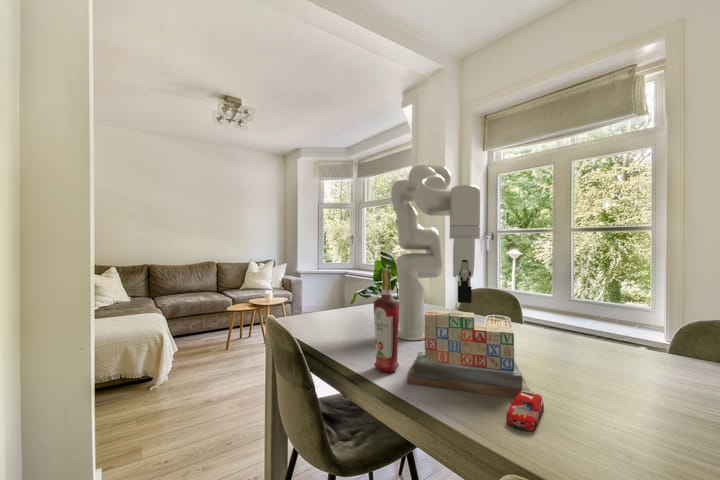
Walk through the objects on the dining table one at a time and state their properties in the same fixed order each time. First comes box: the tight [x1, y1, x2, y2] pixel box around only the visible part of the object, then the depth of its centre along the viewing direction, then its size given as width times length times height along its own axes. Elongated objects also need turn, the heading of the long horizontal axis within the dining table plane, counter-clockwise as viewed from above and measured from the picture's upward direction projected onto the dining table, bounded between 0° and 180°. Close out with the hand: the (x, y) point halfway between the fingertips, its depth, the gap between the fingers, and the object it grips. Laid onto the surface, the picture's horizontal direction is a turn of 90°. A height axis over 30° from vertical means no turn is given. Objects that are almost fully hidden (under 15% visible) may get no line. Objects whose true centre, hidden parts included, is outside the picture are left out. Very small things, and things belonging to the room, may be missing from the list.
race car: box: [505, 391, 545, 432], centre depth 66 cm, size 13×5×4 cm, turn 140°
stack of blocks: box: [424, 309, 515, 371], centre depth 83 cm, size 21×6×12 cm, turn 69°
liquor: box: [373, 268, 400, 374], centre depth 91 cm, size 7×7×28 cm
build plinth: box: [406, 351, 531, 399], centre depth 83 cm, size 13×28×5 cm, turn 73°
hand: (464, 299), depth 84 cm, fingers open, 9 cm apart
